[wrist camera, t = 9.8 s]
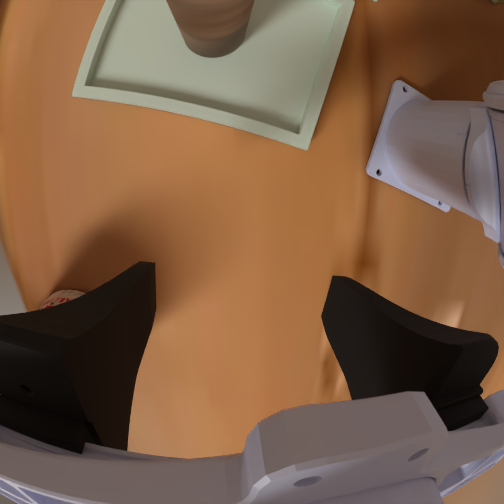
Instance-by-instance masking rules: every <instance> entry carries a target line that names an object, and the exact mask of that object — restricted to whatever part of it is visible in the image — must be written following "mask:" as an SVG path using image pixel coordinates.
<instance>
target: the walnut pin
mask: <svg viewBox="0 0 504 504" xmlns="http://www.w3.org/2000/svg"><path fill="white" fill-rule="evenodd" d="M166 2H167V4H168V6H169V8H170V10H171V12H172V15H173V17H174V19H175V21H176V23H177V26H178V28H179V30H180V32H181V35H182V37H183V39H184V41H185V44H186V45H187V47H188V48H189V49H190V50H191V51H192V52H194V53H195V54H197V55H199V56H202V57H207V58H218V57H223V56H226V55H228V54H230V53H232V52H234V51H235V50H236V49H237V48H238V47H239V46H240V45H241V44H242V42H243V40H244V38H245V34H246V30H247V26H248V23H249V19H250V15H251V11H252V8H253V4H254V0H166Z"/></svg>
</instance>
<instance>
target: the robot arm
mask: <svg viewBox="0 0 504 504" xmlns="http://www.w3.org/2000/svg"><path fill="white" fill-rule="evenodd" d="M403 87H404V88H405V92H404V91H403ZM483 100H484V102H480V101H450V100H433V101H432V100H431V99H429V98H428V97H426V96H425V95H423V94H422V93H420V92H419V91H417V90H416V89H414V88H412V87H411V86H409V85H408V84H406V83H404V82H403V81H401V80H395V81H394V82H393V84H392V88H391V91H390V95H389V98H388V102H387V105H386V108H385V112H384V115H383V118H382V121H381V124H380V127H379V131H378V134H377V137H376V140H375V143H374V146H373V149H372V152H371V155H370V158H369V160H368V163H367V166H366V172H367V174H368V175H369V176H372V177H374V178H376V179H379V180H381V181H383V182H385V183H388V184H390V185H392V186H394V187H396V188H399V189H401V190H403V191H405V192H407V193H409V194H411V195H413V196H415V197H417V198H419V199H421V200H423V201H425V202H427V203H429V204H431V205H433V206H435V207H437V208H439V209H441V210H443V211H445V212H448V211H449V210H450V208H451V207H453V208H455V209H457V210H459V211H461V212H463V213H465V214H467V215H469V216H471V217H473V218H475V219H477V220H479V221H481V222H482V224H483V226H484V232H485V236H487V237H489V238H490V239H492V240H494V241H495V242H497V243H498V257H499V261H500V263H501V265H502V267H503V269H504V80H500V81H494V82H491V83H490V84H489V86H488V88H487V90H486V91H484V92H483ZM378 169H379V170H380V173H379V174H378V175H377V174H376V171H377V170H378ZM439 201H440V203H439V204H438V202H439ZM155 311H156V283H155V263H152V262H141V261H140V262H138V263H136V264H135V265H133V266H132V267H130V268H129V269H127V270H126V271H124V272H122V273H121V274H119V275H118V276H116V277H115V278H113V279H112V280H110V281H108V282H106V283H105V284H103V285H101V286H100V287H98V288H96V289H94V290H92V291H90V292H88V293H86V294H84V295H82V296H80V297H77V298H75V299H73V300H70V301H67V302H64V303H61V304H58V305H55V306H52V307H48V308H44V309H41V310H36V311H31V312H26V313H18V314H11V315H2V316H0V494H2V495H4V496H5V497H7V498H9V499H11V500H13V501H15V502H17V503H19V504H445V503H444V501H443V499H442V498H443V497H445V496H447V495H448V494H450V493H452V492H454V491H455V490H457V489H458V488H460V487H462V486H464V485H465V484H467V483H468V482H470V481H471V480H473V479H475V478H476V477H478V476H479V475H481V474H482V473H484V472H485V471H487V470H488V469H490V468H491V467H493V466H494V465H495V464H496V463H497V462H498V461H499V460H501V459H502V458H503V457H504V390H500V391H498V392H496V393H494V394H491V395H489V396H488V397H487V398H485V399H484V400H483V399H482V398H481V396H480V395H481V394H482V393H483V389H482V387H481V386H480V383H481V382H482V380H483V379H484V377H485V376H486V374H487V373H488V371H489V370H490V368H491V367H492V365H493V363H494V362H495V360H496V357H497V354H498V349H499V346H498V343H497V341H496V340H495V339H494V338H493V337H492V336H491V335H489V334H486V333H480V332H473V331H467V330H462V329H458V328H454V327H450V326H447V325H443V324H440V323H437V322H434V321H431V320H429V319H426V318H423V317H421V316H419V315H417V314H414V313H412V312H410V311H408V310H406V309H404V308H402V307H400V306H398V305H396V304H394V303H392V302H391V301H389V300H387V299H385V298H384V297H382V296H380V295H379V294H377V293H375V292H374V291H372V290H370V289H369V288H367V287H365V286H364V285H362V284H360V283H358V282H357V281H355V280H353V279H351V278H348V277H346V276H332V280H331V284H330V287H329V291H328V295H327V298H326V302H325V305H324V308H323V312H322V315H321V317H322V321H323V325H324V329H325V332H326V335H327V338H328V340H329V342H330V345H331V347H332V349H333V351H334V353H335V356H336V358H337V360H338V362H339V365H340V367H341V369H342V371H343V374H344V376H345V379H346V381H347V384H348V388H349V391H350V395H351V398H352V400H350V401H341V402H332V403H321V404H309V405H304V406H299V407H294V408H289V409H284V410H281V411H279V412H277V413H275V414H273V415H271V416H269V417H267V418H265V419H263V420H261V421H260V422H259V423H258V424H257V425H256V426H255V428H254V429H253V430H252V431H251V433H250V434H249V435H248V436H247V439H246V443H245V447H244V450H243V452H242V453H237V454H230V455H223V456H214V457H205V458H193V459H184V458H173V457H164V456H155V455H148V454H141V453H135V452H129V451H127V446H128V433H129V423H130V414H131V407H132V400H133V393H134V388H135V382H136V377H137V373H138V369H139V366H140V363H141V360H142V357H143V354H144V351H145V348H146V345H147V342H148V339H149V336H150V333H151V330H152V326H153V321H154V316H155Z"/></svg>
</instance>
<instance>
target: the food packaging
mask: <svg viewBox="0 0 504 504" xmlns="http://www.w3.org/2000/svg"><path fill="white" fill-rule="evenodd" d="M490 1H492V2H493V4H494V5H496V4H499V3H504V0H490Z"/></svg>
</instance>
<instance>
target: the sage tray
mask: <svg viewBox="0 0 504 504" xmlns="http://www.w3.org/2000/svg"><path fill="white" fill-rule="evenodd" d="M354 4H355V1H353V0H254V4H253V8H252V11H251V15H250V19H249V23H248V26H247V30H246V34H245V38H244V40H243V42H242V44H241V45H240V46H239V47H238V48H237V49H236V50H235V51H234V52H232V53H230V54H228V55H226V56H223V57H218V58H207V57H202V56H199V55H197V54H195V53H194V52H192V51H191V50H190V49H189V48H188V47H187V45H186V44H185V41H184V39H183V37H182V35H181V32H180V30H179V28H178V26H177V23H176V21H175V19H174V17H173V15H172V12H171V10H170V8H169V6H168V4H167V2H166V0H106V1H105V4H104V6H103V8H102V10H101V12H100V15H99V17H98V19H97V22H96V24H95V27H94V29H93V32H92V34H91V37H90V39H89V42H88V45H87V48H86V50H85V53H84V56H83V59H82V62H81V65H80V68H79V72H78V75H77V78H76V82H75V85H74V89H73V92H72V96H73V97H80V98H89V99H97V100H104V101H111V102H118V103H124V104H130V105H136V106H142V107H147V108H152V109H157V110H162V111H167V112H172V113H177V114H181V115H185V116H190V117H194V118H198V119H202V120H206V121H210V122H214V123H218V124H222V125H226V126H229V127H233V128H236V129H240V130H243V131H247V132H250V133H254V134H257V135H260V136H263V137H267V138H270V139H273V140H276V141H279V142H282V143H285V144H288V145H291V146H294V147H297V148H300V149H303V150H306V151H307V150H308V147H309V144H310V141H311V138H312V135H313V132H314V129H315V126H316V123H317V120H318V117H319V114H320V111H321V108H322V105H323V102H324V99H325V96H326V93H327V90H328V87H329V84H330V81H331V77H332V74H333V71H334V68H335V65H336V62H337V59H338V56H339V52H340V49H341V46H342V43H343V40H344V37H345V33H346V30H347V27H348V24H349V20H350V17H351V14H352V11H353V7H354Z"/></svg>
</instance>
